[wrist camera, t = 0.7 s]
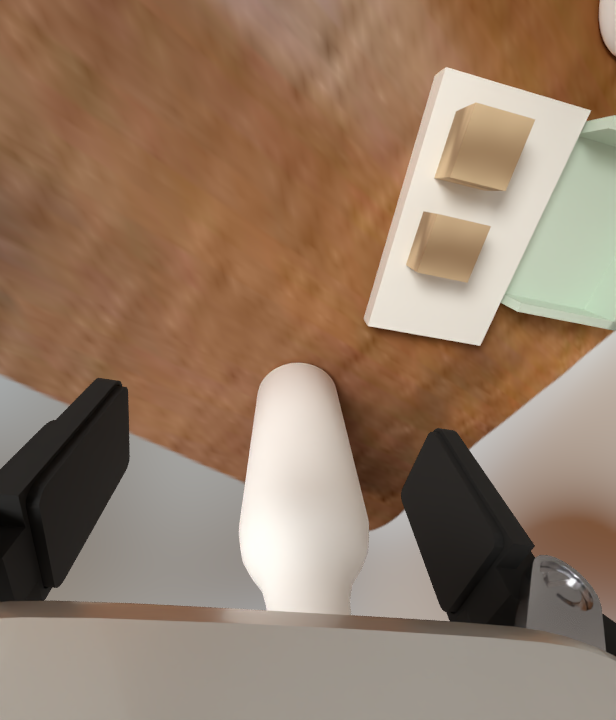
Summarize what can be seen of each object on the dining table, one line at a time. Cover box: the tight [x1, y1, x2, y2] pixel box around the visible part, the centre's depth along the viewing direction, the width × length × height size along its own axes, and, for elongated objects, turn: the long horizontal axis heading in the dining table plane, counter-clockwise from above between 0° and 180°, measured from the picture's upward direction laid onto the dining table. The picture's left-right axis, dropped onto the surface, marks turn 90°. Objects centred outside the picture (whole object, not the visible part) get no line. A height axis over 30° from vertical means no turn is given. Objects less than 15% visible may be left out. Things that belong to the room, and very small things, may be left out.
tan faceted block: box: [434, 103, 535, 191], centre depth 25 cm, size 4×4×3 cm
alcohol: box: [239, 363, 369, 615], centre depth 25 cm, size 9×9×30 cm
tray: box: [501, 115, 616, 331], centre depth 30 cm, size 15×10×4 cm
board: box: [364, 67, 591, 346], centre depth 30 cm, size 20×12×2 cm, turn 168°
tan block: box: [406, 211, 491, 283], centre depth 28 cm, size 4×4×3 cm
